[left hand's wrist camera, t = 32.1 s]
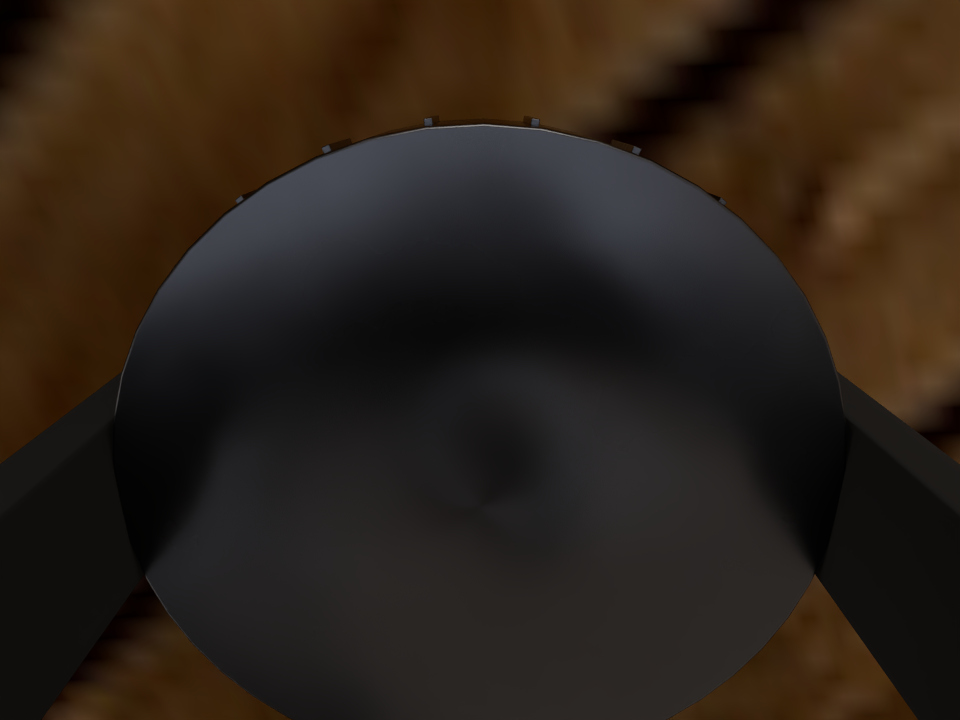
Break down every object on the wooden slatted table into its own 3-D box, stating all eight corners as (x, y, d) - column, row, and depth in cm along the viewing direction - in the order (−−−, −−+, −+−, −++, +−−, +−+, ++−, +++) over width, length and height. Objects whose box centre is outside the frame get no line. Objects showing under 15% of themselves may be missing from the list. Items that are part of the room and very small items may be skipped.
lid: (82, 161, 10) (-13, 176, 8) (804, 67, 10) (888, 59, 8) (254, 693, 14) (216, 792, 12) (777, 645, 14) (828, 738, 12)
